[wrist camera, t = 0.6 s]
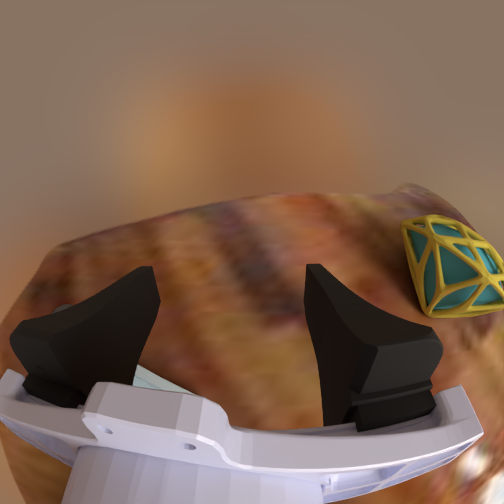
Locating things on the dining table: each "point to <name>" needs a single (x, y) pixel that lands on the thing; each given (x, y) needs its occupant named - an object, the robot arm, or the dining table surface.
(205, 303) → the dining table surface
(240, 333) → the dining table surface
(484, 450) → the dining table surface
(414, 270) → the decorative object
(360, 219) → the dining table surface
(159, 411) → the robot arm
